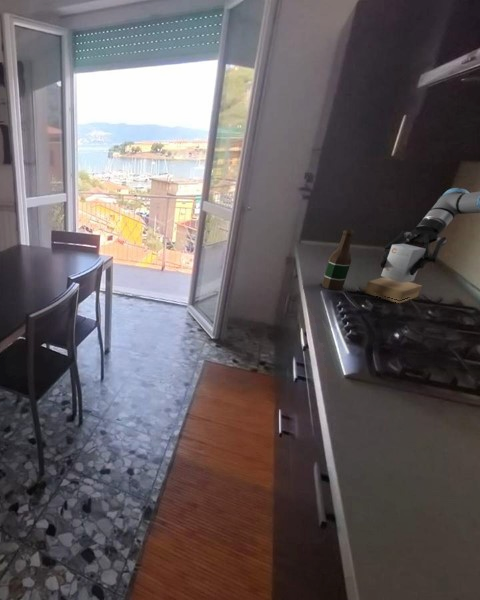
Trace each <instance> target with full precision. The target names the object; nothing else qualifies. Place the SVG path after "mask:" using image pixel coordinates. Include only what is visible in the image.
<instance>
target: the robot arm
mask: <svg viewBox="0 0 480 600" xmlns="http://www.w3.org/2000/svg"><path fill="white" fill-rule="evenodd" d="M464 214H465V215H466V214H480V191H475V192H474V191H473V192H469V190H467V189H465V188H459V187H452V188H449V189H448V190H446V191H445V192H444V193H443V194H442V195H441V196H440V197H439V198H438V200H437V201H436V203H434V205H433V206H432V207H431V208H430V210H429V211H428V212H427V213H426V215H425V216H424V217H423V218H422V220H421V221H420V222H419V223H418V224H417V225H416V227H415V228H414V229H413V230H412V231H406V230H405V229H402V230H401V232H400V233H399V234H398V235H397V236H396V237H395V238H393V239H392V240H391V241H390V242H388V243H387V244H386V245H385V246H384V248H383V249H384V252H385V254H384V255H383V256H382V257H383V260H381V262H380V268H382V269H384V266H385V263H386V261H387V258H388V255H389V252H390V249H391V247H392V245H394V244H408V245H412V246H413V245H419V246H423V248H425V249H426V251H425V253H424V256H423V258H420V259H419V260H418V262H417V263H416V264H415V265H414V267H413V268H412V269H411V270H410V275H412V276H413V275H414V274H415V273H416V271H417V270H418V271H419V269H421V270H422V269H423V268H424V267H425V266H426V265H427V264H428V263H436V262H437V260H438V258H439V255H440V254H441V251H442V248H443V246H444V245H446V243H447V237H445V236H443V237H439V236H441V234H442V233H443V231H444V230H445V229H446V228H447V227H448V225H449V224H450V223H451V222H452V221H453V220H454V218H455V217H456V216H457V215H464ZM404 239H405V240H404ZM434 242H436V244H435V247H434V250H433V252H432V255H431V256H430V244H431V243H432V244H433V243H434ZM418 271H417V272H418Z"/></svg>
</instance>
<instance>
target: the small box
mask: <svg viewBox="0 0 480 600" xmlns="http://www.w3.org/2000/svg"><path fill="white" fill-rule="evenodd" d="M425 251H426V249H425V248H424V247H419V246H416V245H413V244H412V245H408V244H399V243H398V244H394V245H392V247H391V249H390V252H389V255H388V258H387V261H386V263H385V266H384V268H382V272H381V275H380V276H381V277H386V278H389V279H392V280H395V281H398V282H401V283H402V282H414V281H415V279H416V276H417V274H418V271H419V269H418V270H417V271H416V273H415V274H414V275H413V276H412V275H410V270H411V269H412V268H413V267H414V265H415V264H416V263H417V262H418V260H419V259H420V258H423V259H424V253H425Z"/></svg>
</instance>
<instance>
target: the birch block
mask: <svg viewBox="0 0 480 600" xmlns="http://www.w3.org/2000/svg"><path fill="white" fill-rule="evenodd" d="M422 287H423V285H422V284H418V283H415V282H412V281H410V282H402V283H401V282H398V281H395V280H392V279H389V278H386V277H383V276H381V277H379V278H375V279H371V280H369V281H367V284H366V286H365V289H364V292H363V293H364V294H367V295H369V296H374V297H376V296H378V297H377V298H379V297H381V298H380V299H383V300H386V301H389V302H392V303H395V302H396V303H395V304H398V303H399V304H402V303H405V302H407V301H410V300H414V299H416V298H418V297H419V295H420V292H421V291H422V290H421V289H422ZM375 293H376V294H375ZM378 294H379V295H378ZM381 295H382V296H381ZM384 296H386V297H384ZM387 297H390V298H387ZM407 297H410V298H408V299H405V298H407ZM391 298H393V299H391ZM394 299H397V300H402V299H405V300H402V301H397V300H394ZM409 299H410V300H409Z"/></svg>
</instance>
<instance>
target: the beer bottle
mask: <svg viewBox="0 0 480 600" xmlns="http://www.w3.org/2000/svg"><path fill="white" fill-rule="evenodd" d="M342 233H343V234H342V237H341V239H340V242H339V245H338V247H337V249H336V250H334V251H333V252H332V253H331V254H330V256H329V258H328V262H327V265H326V269H325V272H324V275H323V279H322V283H321V286H322V287H323V288H325V289H328V290H333V291H340V290H341V291H342V289H343V287H344V286H345V282H346V279H347V276H348V273H349V269H350V267H351V263H352V255H351V252H350V248H351V245H352V239H353V236H354V235H355V231H354V230H348V229H345V230H343V231H342Z"/></svg>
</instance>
